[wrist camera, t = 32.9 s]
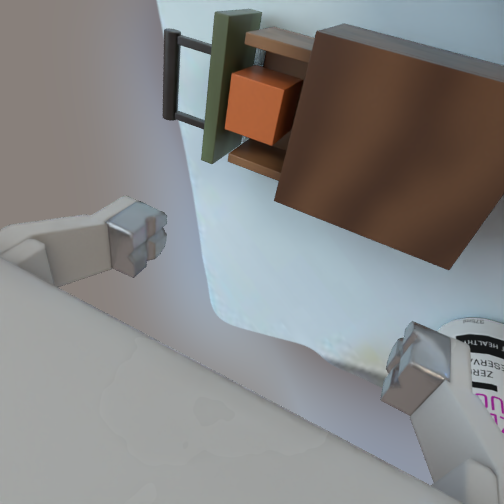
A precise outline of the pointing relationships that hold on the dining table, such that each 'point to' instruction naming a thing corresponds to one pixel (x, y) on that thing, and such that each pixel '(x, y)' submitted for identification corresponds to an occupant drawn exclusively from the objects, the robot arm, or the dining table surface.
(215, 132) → the drawer
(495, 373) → the supplement can
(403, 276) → the dining table surface
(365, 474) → the robot arm
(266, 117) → the block
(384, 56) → the cabinet
